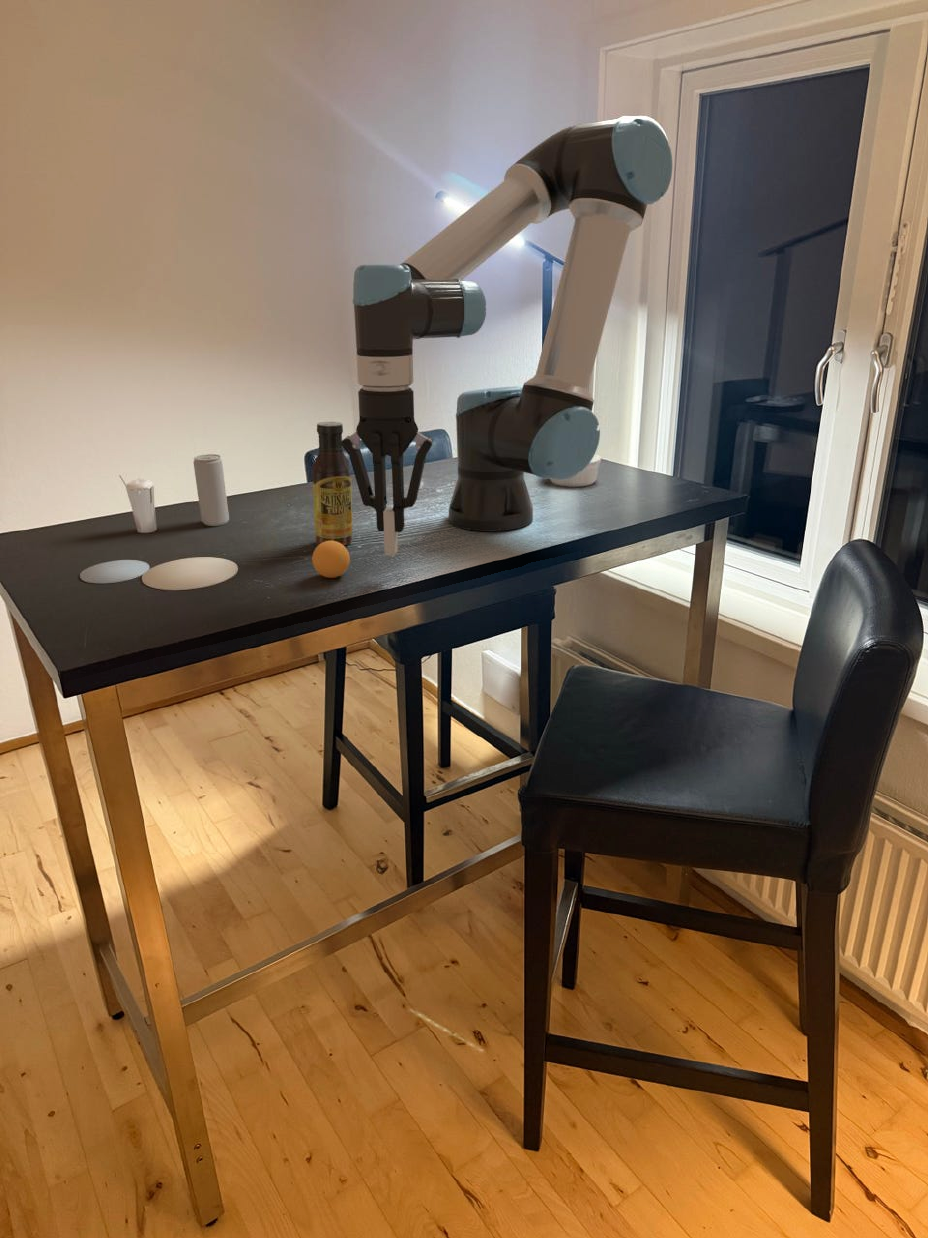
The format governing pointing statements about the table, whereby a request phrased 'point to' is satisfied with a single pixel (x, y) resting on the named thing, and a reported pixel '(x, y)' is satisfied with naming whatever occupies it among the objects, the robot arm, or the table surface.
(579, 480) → the ramekin
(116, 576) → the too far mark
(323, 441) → the sauce bottle
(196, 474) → the beverage can
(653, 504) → the table surface
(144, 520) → the milkshake
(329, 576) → the ball
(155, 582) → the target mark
